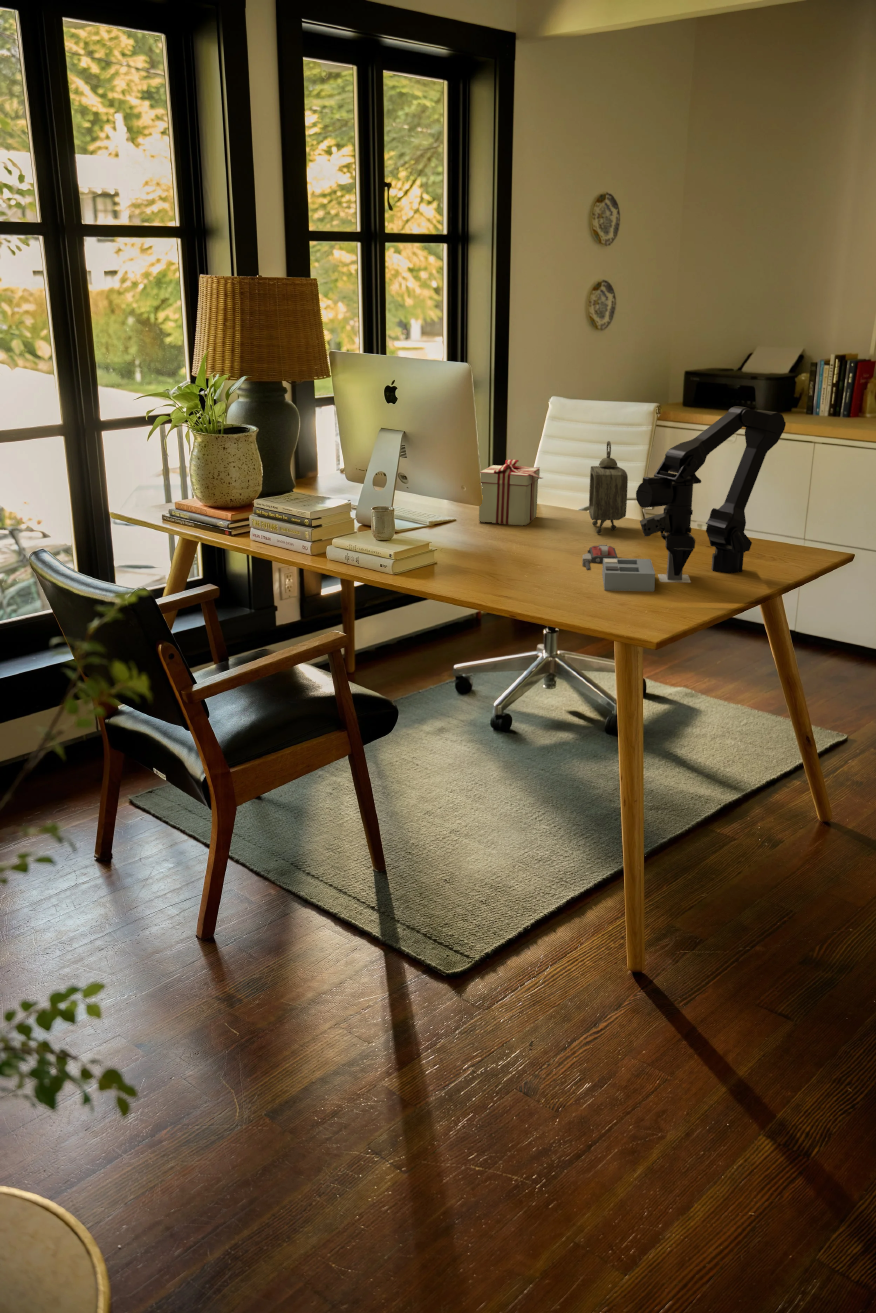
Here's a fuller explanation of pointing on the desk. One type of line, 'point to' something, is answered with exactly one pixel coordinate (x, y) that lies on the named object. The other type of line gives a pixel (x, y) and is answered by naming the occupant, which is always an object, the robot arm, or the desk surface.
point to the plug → (670, 569)
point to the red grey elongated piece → (598, 555)
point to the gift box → (509, 494)
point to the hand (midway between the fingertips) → (674, 570)
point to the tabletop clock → (607, 492)
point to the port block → (628, 574)
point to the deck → (664, 579)
